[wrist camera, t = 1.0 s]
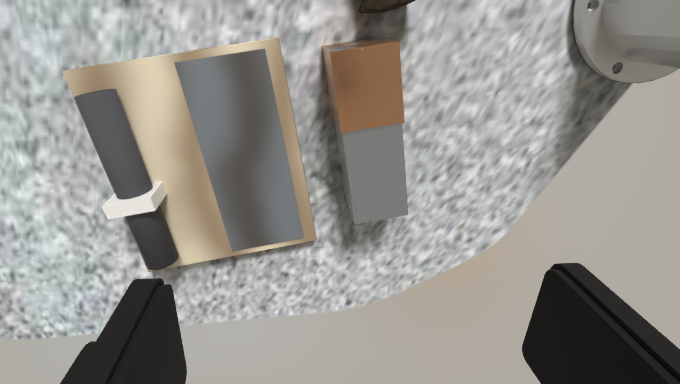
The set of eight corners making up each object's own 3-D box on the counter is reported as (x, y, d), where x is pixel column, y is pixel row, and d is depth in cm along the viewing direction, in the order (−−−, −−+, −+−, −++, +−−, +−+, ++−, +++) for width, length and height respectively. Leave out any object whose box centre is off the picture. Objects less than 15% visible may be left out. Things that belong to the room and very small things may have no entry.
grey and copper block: (379, 37, 28) (398, 41, 23) (391, 187, 33) (410, 215, 28) (321, 46, 27) (329, 51, 23) (343, 196, 32) (353, 226, 28)
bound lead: (130, 84, 26) (110, 93, 23) (188, 245, 31) (178, 269, 28) (82, 92, 26) (54, 102, 23) (149, 252, 31) (134, 278, 28)
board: (278, 37, 27) (278, 38, 25) (315, 232, 33) (316, 240, 32) (71, 69, 26) (61, 71, 25) (153, 263, 33) (148, 272, 31)
